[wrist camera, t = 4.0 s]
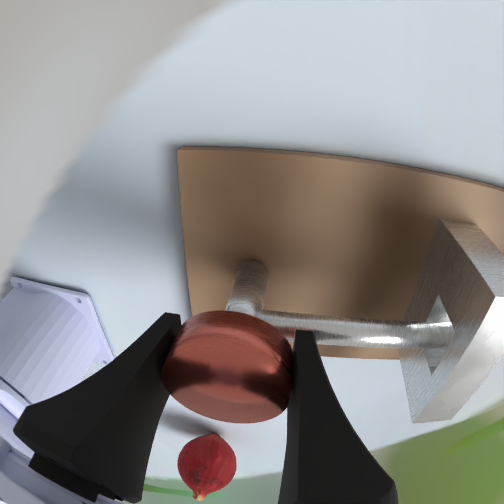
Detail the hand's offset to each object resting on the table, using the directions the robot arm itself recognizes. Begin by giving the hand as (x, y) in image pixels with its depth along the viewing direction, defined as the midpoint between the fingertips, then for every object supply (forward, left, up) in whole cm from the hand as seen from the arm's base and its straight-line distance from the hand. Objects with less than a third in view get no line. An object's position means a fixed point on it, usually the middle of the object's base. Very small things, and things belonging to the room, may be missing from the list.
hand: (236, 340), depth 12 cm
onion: (-4, -22, -6) cm, 23 cm away
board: (+6, 0, -6) cm, 8 cm away
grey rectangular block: (+10, 0, -6) cm, 11 cm away
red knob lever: (+4, 0, -4) cm, 6 cm away
